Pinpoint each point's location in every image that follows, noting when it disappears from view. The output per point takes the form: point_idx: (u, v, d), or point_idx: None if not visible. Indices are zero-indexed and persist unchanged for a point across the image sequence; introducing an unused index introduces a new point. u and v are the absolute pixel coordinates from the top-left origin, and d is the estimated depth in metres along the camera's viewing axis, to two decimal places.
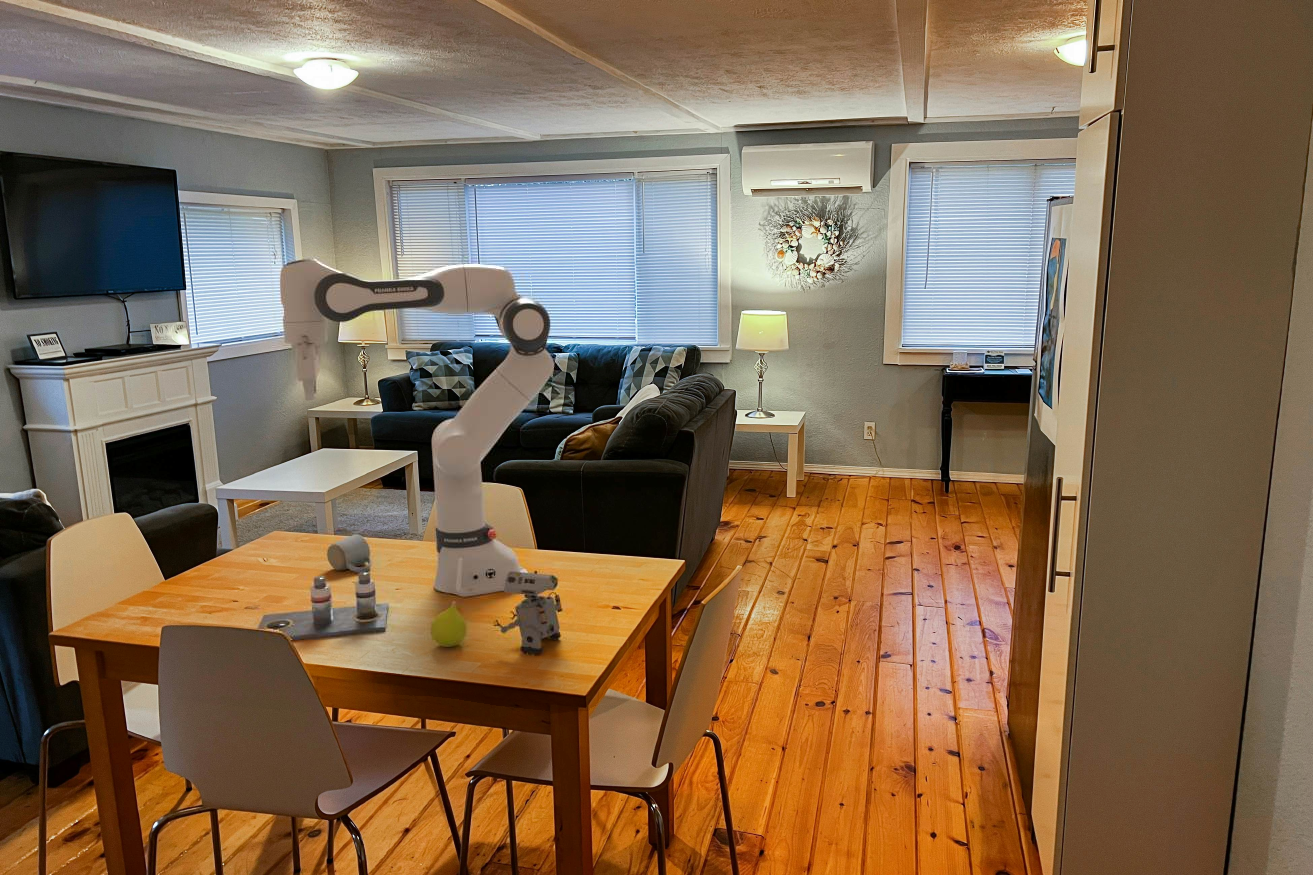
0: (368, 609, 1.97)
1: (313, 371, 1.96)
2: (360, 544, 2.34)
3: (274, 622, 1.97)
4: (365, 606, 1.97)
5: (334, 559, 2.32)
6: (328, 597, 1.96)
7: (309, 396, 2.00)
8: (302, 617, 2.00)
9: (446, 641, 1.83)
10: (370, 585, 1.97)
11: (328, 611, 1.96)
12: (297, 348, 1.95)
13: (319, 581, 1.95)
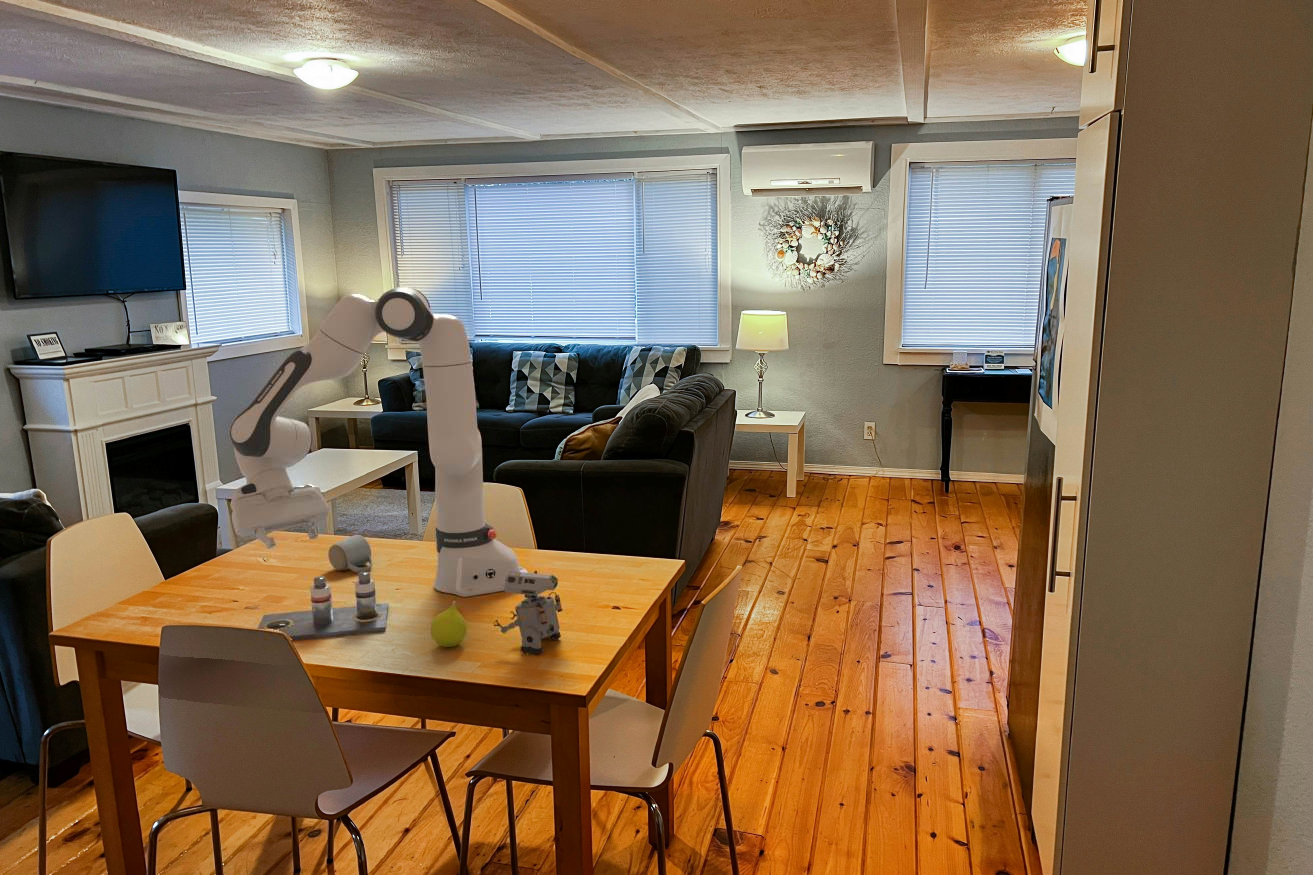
0: (368, 609, 1.97)
1: None
2: (361, 545, 2.34)
3: (274, 622, 1.97)
4: (365, 606, 1.97)
5: (335, 559, 2.31)
6: (328, 597, 1.96)
7: None
8: (302, 617, 2.00)
9: (446, 641, 1.83)
10: (370, 585, 1.97)
11: (328, 611, 1.96)
12: None
13: (319, 581, 1.95)
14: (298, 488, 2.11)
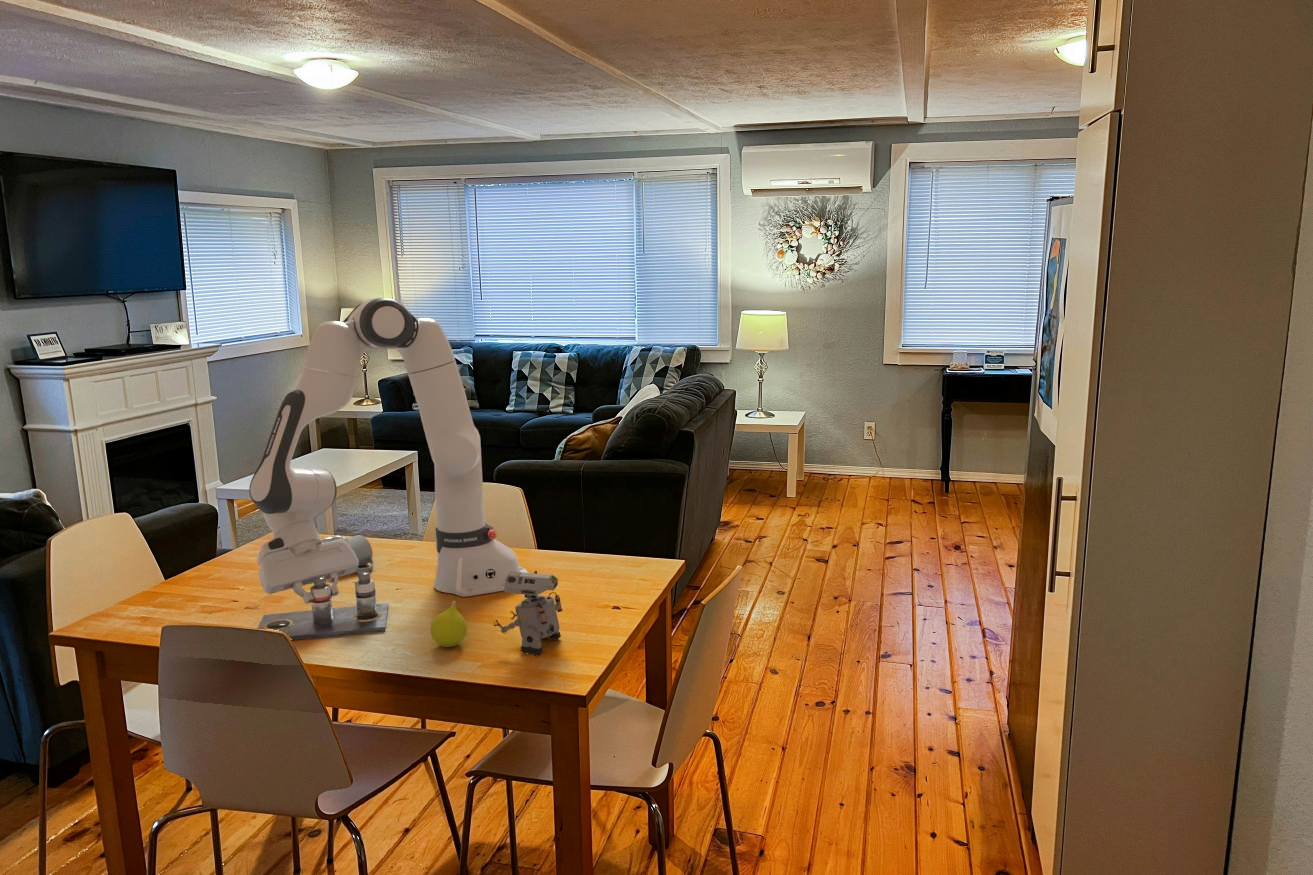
0: (368, 609, 1.97)
1: None
2: (363, 545, 2.33)
3: (274, 622, 1.97)
4: (365, 606, 1.97)
5: None
6: (328, 597, 1.96)
7: None
8: (302, 617, 2.00)
9: (446, 641, 1.83)
10: (370, 585, 1.97)
11: (328, 611, 1.96)
12: None
13: (319, 581, 1.95)
14: (326, 540, 2.04)
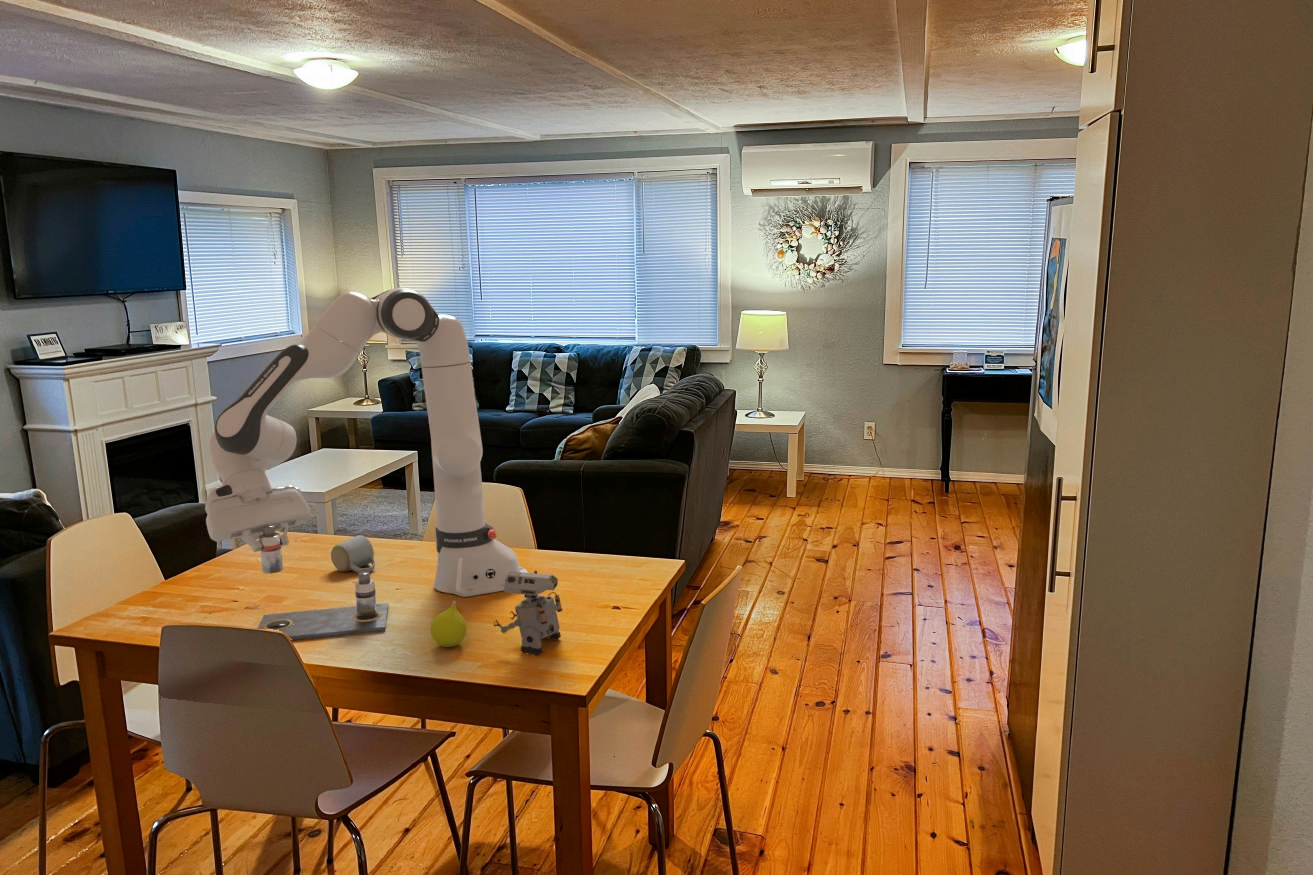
0: (368, 609, 1.97)
1: None
2: (364, 545, 2.33)
3: (274, 622, 1.97)
4: (365, 606, 1.97)
5: (338, 560, 2.31)
6: (277, 546, 1.91)
7: None
8: (302, 617, 2.00)
9: (446, 641, 1.83)
10: (370, 585, 1.97)
11: (277, 560, 1.92)
12: None
13: (268, 529, 1.90)
14: (277, 490, 2.00)
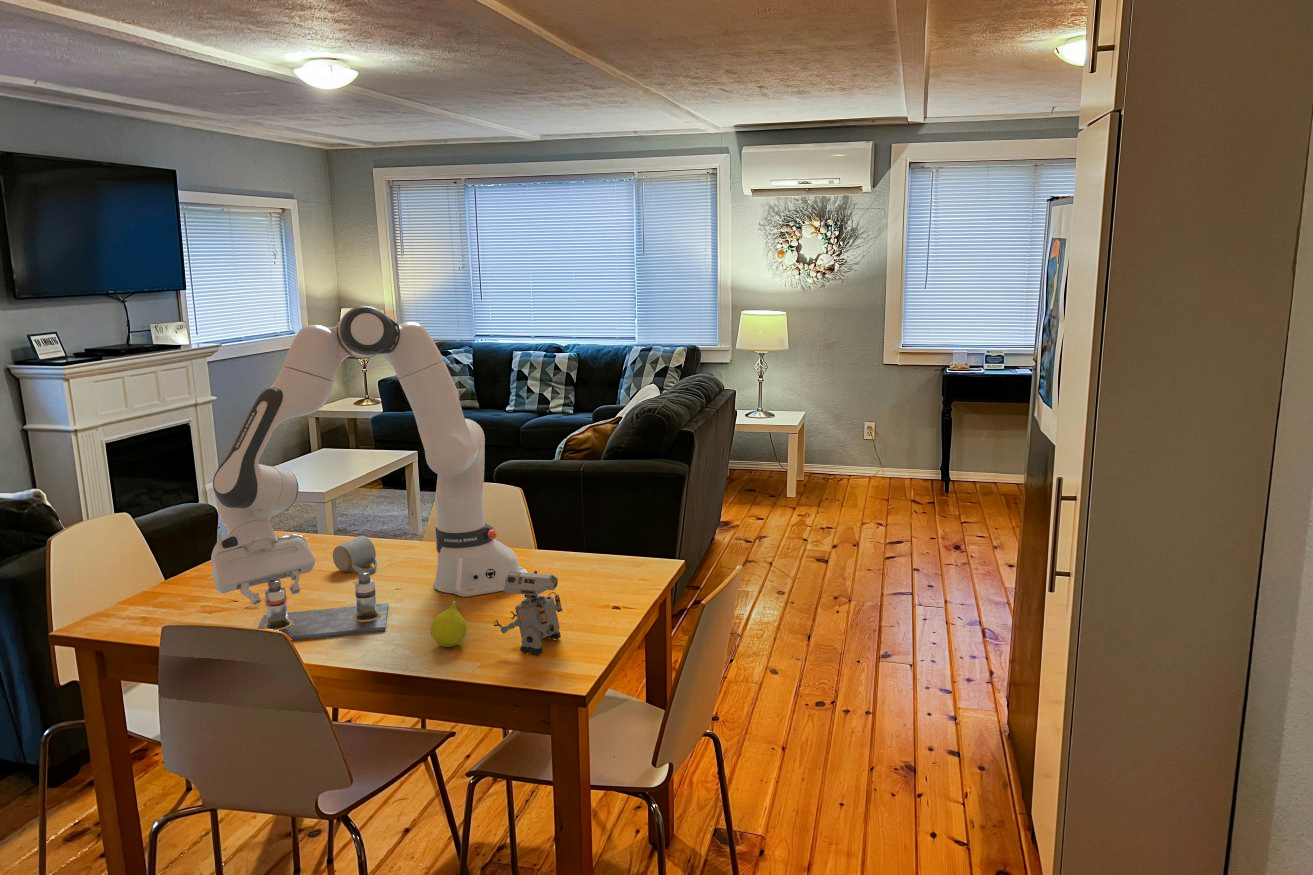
0: (368, 609, 1.97)
1: None
2: (366, 546, 2.33)
3: None
4: (365, 606, 1.97)
5: (340, 560, 2.30)
6: (283, 600, 1.94)
7: None
8: (302, 617, 2.00)
9: (446, 641, 1.83)
10: (370, 585, 1.97)
11: (283, 614, 1.94)
12: None
13: (274, 584, 1.93)
14: (282, 539, 2.02)
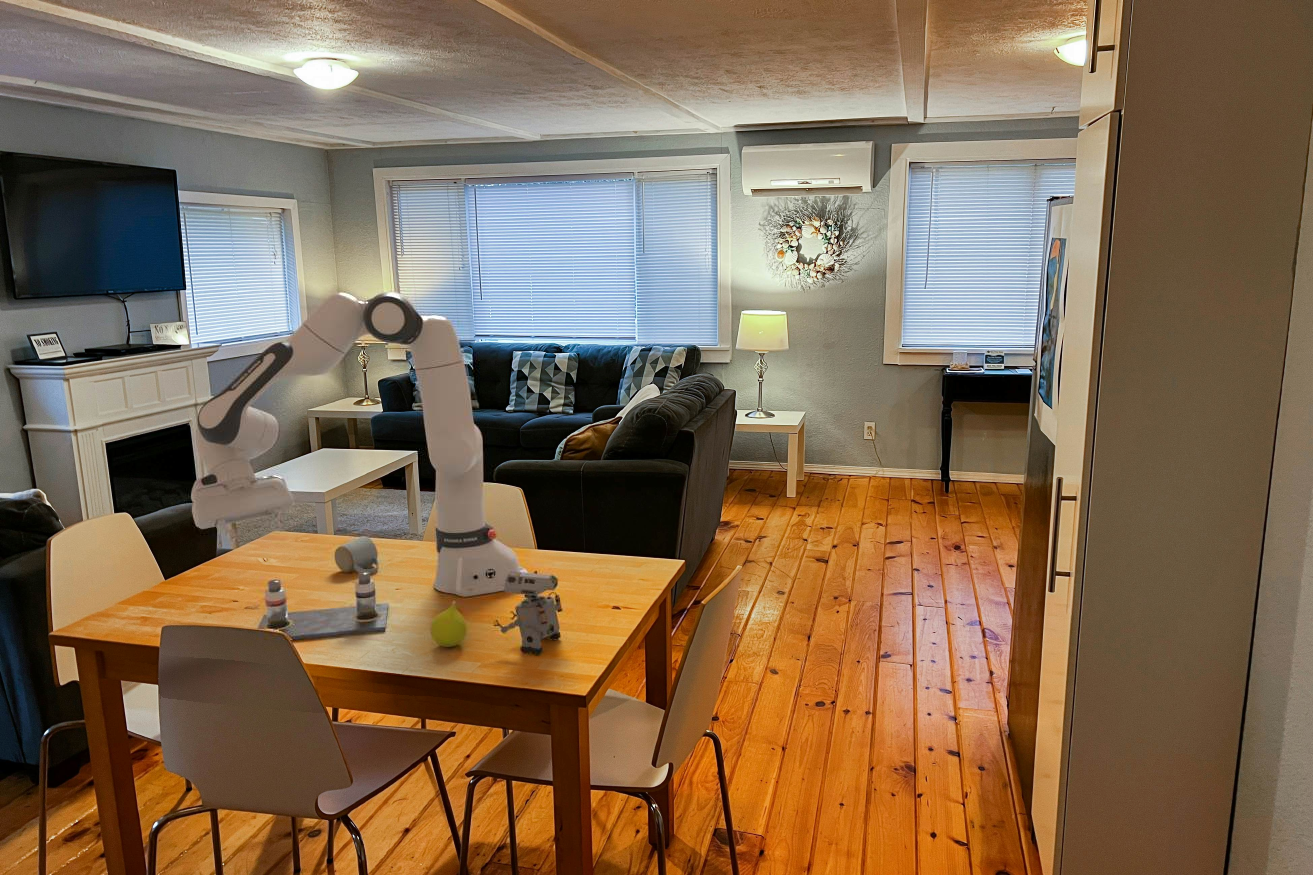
0: (368, 609, 1.97)
1: None
2: (368, 546, 2.32)
3: None
4: (365, 606, 1.97)
5: (341, 561, 2.30)
6: (283, 600, 1.94)
7: None
8: (302, 617, 2.00)
9: (446, 641, 1.83)
10: (370, 585, 1.97)
11: (283, 614, 1.94)
12: None
13: (273, 584, 1.93)
14: (261, 479, 2.06)
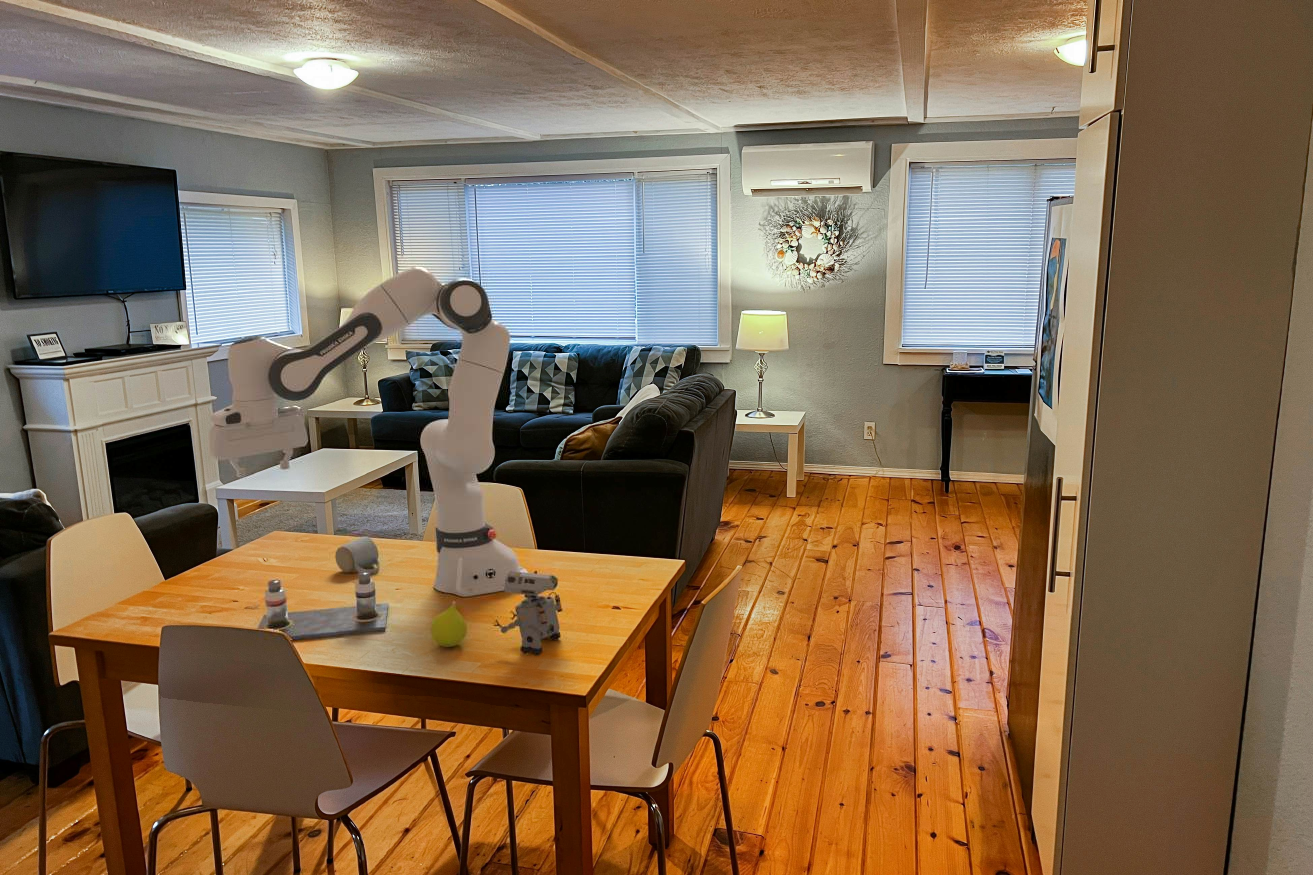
0: (368, 609, 1.97)
1: None
2: (369, 547, 2.32)
3: None
4: (365, 606, 1.97)
5: (342, 561, 2.30)
6: (283, 600, 1.94)
7: None
8: (302, 617, 2.00)
9: (446, 641, 1.83)
10: (370, 585, 1.97)
11: (283, 614, 1.94)
12: (299, 416, 2.08)
13: (273, 584, 1.93)
14: (282, 411, 2.06)
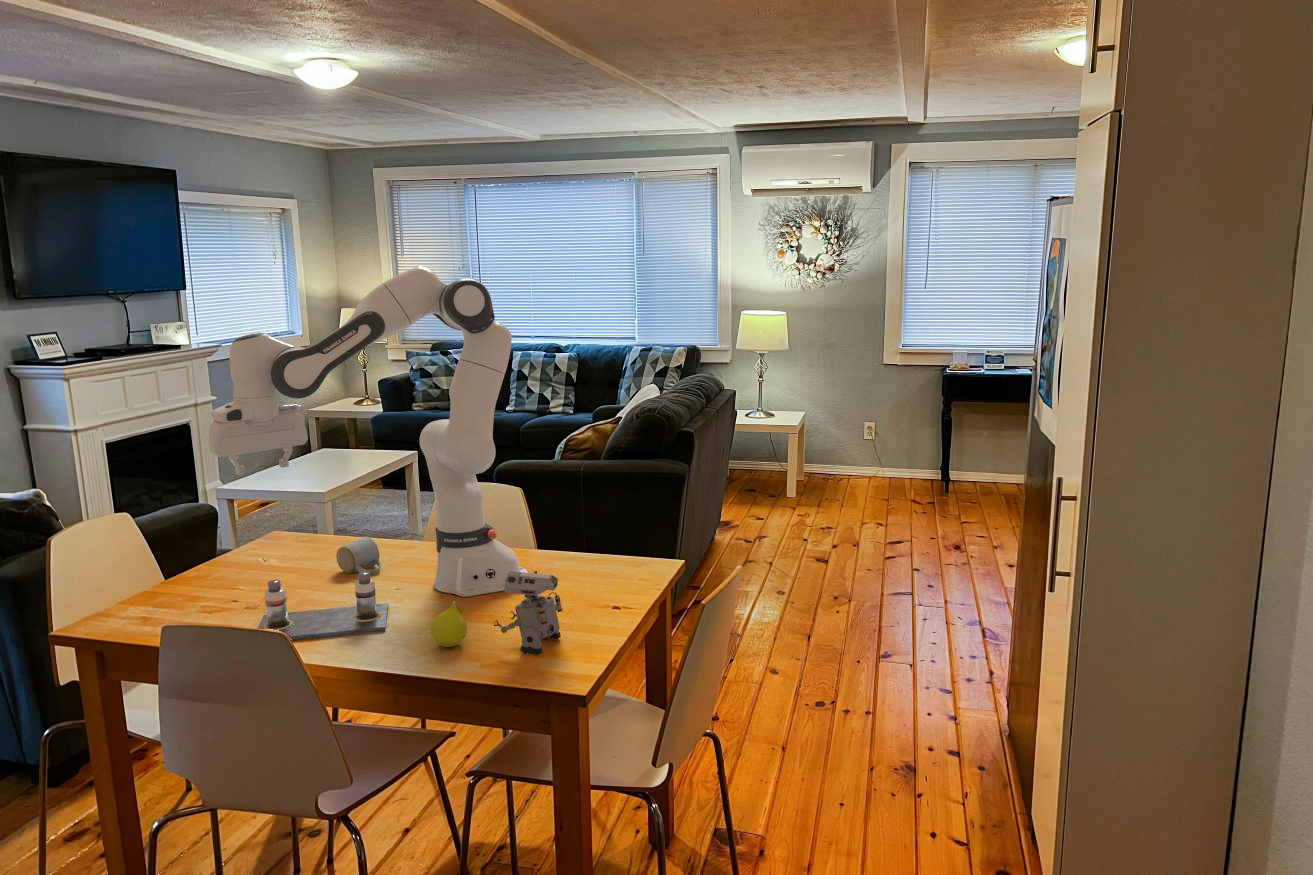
0: (368, 609, 1.97)
1: None
2: (370, 547, 2.32)
3: None
4: (365, 606, 1.97)
5: (343, 561, 2.30)
6: (283, 600, 1.94)
7: None
8: (302, 617, 2.00)
9: (446, 641, 1.83)
10: (370, 585, 1.97)
11: (283, 614, 1.94)
12: (299, 414, 2.07)
13: (273, 584, 1.93)
14: (283, 409, 2.05)
